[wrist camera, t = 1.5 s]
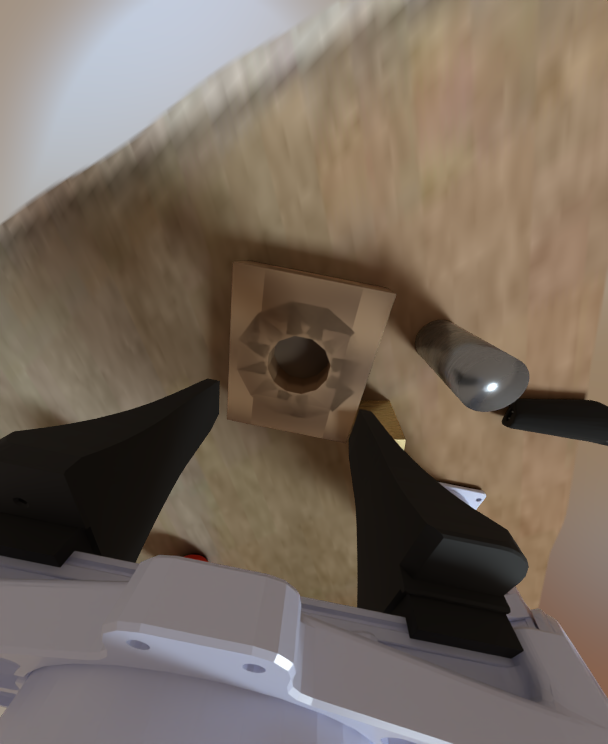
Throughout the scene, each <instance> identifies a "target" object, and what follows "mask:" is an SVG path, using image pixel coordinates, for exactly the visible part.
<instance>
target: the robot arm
mask: <svg viewBox="0 0 608 744" xmlns="http://www.w3.org/2000/svg"><path fill="white" fill-rule="evenodd" d="M219 383H220V381H217V380H212V379H206V380H203V381H201V382H199V383H196V384H194V385H192V386H190V387H188V388H185V389H183V390H181V391H179V392H176V393H174V394H172V395H169V396H167V397H164V398H162V399H159V400H157V401H154V402H152V403H149V404H146V405H143V406H140V407H137V408H134V409H131V410H128V411H124V412H121V413H117V414H113V415H109V416H105V417H101V418H97V419H92V420H87V421H82V422H77V423H71V424H66V425H60V426H53V427H46V428H38V429H31V430H23V431H14V432H12V433H10V434H9V435H7V436H5V437H3V438H2V439H0V706H2V707H6V708H7V709H6V710H5V711H4V713H3V714H2V716H1V717H0V744H608V699H607V697H606V695H605V694H604V692H603V691H602V689H601V687H600V686H599V684H598V683H597V681H596V680H595V678H594V676H593V675H592V673H591V672H590V670H589V668H588V667H587V665H586V664H585V662H584V661H583V659H582V658H581V656H580V655H579V653H578V651H577V650H576V648H575V647H574V645H573V644H572V642H571V641H570V639H569V638H568V636H567V635H566V633H565V632H564V630H563V629H562V627H561V626H560V624H559V623H558V622H557V621H556V620H555V619H554V618H552V617H550V616H549V615H547V614H545V613H544V612H543V611H542V610H541V609H533V610H530V609H529V608H528V606H527V605H526V604H525V602H524V601H523V599H522V597H521V596H520V594H519V592H518V590H517V588H516V587H515V586H516V585H517V584H518V583H520V582H521V581H522V580H523V578H524V577H525V576H526V573H527V570H528V567H529V566H528V562H527V559H526V558H525V556H524V555H523V553H522V552H521V550H520V548H519V547H518V545H517V544H516V542H515V541H514V539H513V538H512V536H511V535H510V533H509V531H508V530H507V529H505V528H504V527H502V526H500V525H499V524H497V523H496V522H494V521H492V520H491V519H489V518H488V517H486V516H484V515H483V514H481V513H480V512H478V511H477V510H476V509H477V508H478V507H479V505H480V504H481V503H482V501H483V500H484V499H485V498H486V494H485V492H484V491H481V490H476V489H471V488H466V487H461V486H456V485H451V484H446V483H441V482H437V481H436V480H435V479H434V478H432V477H431V476H430V475H429V474H428V473H427V472H425V471H424V470H423V469H422V468H421V467H420V466H419V465H418V464H417V463H416V462H415V461H414V460H413V459H412V458H411V457H410V456H409V455H408V454H407V453H406V452H405V451H404V450H403V449H402V448H401V447H400V446H399V444H398V443H397V442H396V441H395V440H394V439H393V438H392V436H391V435H390V434H389V433H388V431H387V430H386V429H385V428H384V426H383V425H382V424H381V423H380V421H379V420H378V419H377V418H376V416H375V415H374V414H373V413H372V412H371V411H367V410H362V409H359V411H358V414H357V417H356V420H355V423H354V426H353V429H352V432H351V435H350V438H349V461H350V469H351V476H352V483H353V490H354V496H355V505H356V522H357V561H358V594H357V608H356V607H351V606H346V605H341V604H336V603H331V602H326V601H321V600H316V599H311V598H306V597H301V596H300V595H299V593H298V591H297V590H296V589H295V588H294V587H293V586H291V585H290V584H289V583H288V582H286V581H285V580H283V579H280V578H277V577H274V576H271V575H269V574H265V573H260V572H255V571H250V570H245V569H240V568H235V567H230V566H225V565H220V564H215V563H210V562H205V561H200V560H195V559H190V558H185V557H180V556H171V555H157V556H155V557H152V558H149V559H147V560H145V561H142V562H141V563H140V564H138V563H135V562H136V560H137V558H138V556H139V554H140V552H141V550H142V547H143V545H144V543H145V541H146V539H147V537H148V535H149V533H150V531H151V529H152V527H153V525H154V523H155V521H156V519H157V517H158V515H159V513H160V511H161V509H162V507H163V505H164V503H165V502H166V500H167V498H168V496H169V494H170V492H171V490H172V489H173V487H174V485H175V483H176V481H177V480H178V478H179V476H180V474H181V473H182V471H183V470H184V468H185V466H186V465H187V463H188V462H189V461H190V459H191V458H192V456H193V455H194V453H195V452H196V451H197V449H198V448H199V446H200V445H201V443H202V442H203V441H204V439H205V438H206V436H207V435H208V433H209V432H210V430H211V428H212V427H213V425H214V423H215V421H216V419H217V417H218V415H219Z"/></svg>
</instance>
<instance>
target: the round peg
mask: <svg viewBox="0 0 608 744" xmlns="http://www.w3.org/2000/svg"><path fill="white" fill-rule="evenodd" d="M415 347H416V350H417V352H418V354H419V355H420V356H421V357H422V358H423V359H424V360H425V361H426V363H427V364H428V365H429V366H430V367H431V368H432V369H433V370H434V371H435V373H436V374H437V375H438V376H439V377H440V378H441V379H442V380H443V381H444V383H445V384H446V385H447V386H448V387H449V388H450V389H451V390H452V392H453V393H454V394H455V395H456V396H457V397H458V398H459V399H460V400H461V402H462V403H463V404H464V405H465V406H467V407H468V408H470V409H472V410H475V411H481V412H489V411H495V410H499V409H502V408H504V407H506V406H508V405H510V404H512V403H513V402H515V401H516V400H517V399H518V398H519V397H520V396H521V395H522V394H523V393H524V391H525V389H526V388H527V385H528V382H529V371H528V369H527V367H526V366H525V364H524V363H523V362H521V361H520V360H518V359H516V358H515V357H513V356H511V355H509V354H507V353H506V352H504V351H502V350H500V349H498V348H497V347H495V346H493V345H491V344H489V343H488V342H486V341H484V340H482V339H481V338H479V337H477V336H475V335H473V334H472V333H470V332H468V331H466V330H464V329H463V328H461V327H459V326H457V325H456V324H454V323H452V322H450V321H447V320H437V321H433V322H431V323H429V324H427V325H426V326H424V327H423V328H422V329H421V330H420V332H419V333H418V335H417V337H416V341H415Z"/></svg>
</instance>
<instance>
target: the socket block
mask: <svg viewBox="0 0 608 744" xmlns="http://www.w3.org/2000/svg"><path fill="white" fill-rule="evenodd" d="M395 297H396V293H394V292H392V291H391V290H389V289H387V288H385V287H380V286H375V285H370V284H365V283H360V282H355V281H350V280H345V279H340V278H334V277H329V276H324V275H319V274H314V273H309V272H304V271H299V270H294V269H289V268H284V267H279V266H274V265H269V264H264V263H258V262H253V261H248V260H246V261H235V262H233V269H232V296H231V324H230V351H229V378H228V405H227V419H228V420H233V421H238V422H243V423H248V424H253V425H258V426H263V427H268V428H273V429H278V430H283V431H288V432H293V433H298V434H303V435H308V436H313V437H318V438H323V439H328V440H333V441H338V442H343V443H346V442H347V439H348V436H349V433H350V430H351V427H352V424H353V421H354V418H355V415H356V413H357V410H358V407H359V404H360V401H361V398H362V395H363V392H364V389H365V386H366V383H367V380H368V377H369V374H370V371H371V368H372V365H373V362H374V359H375V356H376V353H377V350H378V347H379V344H380V342H381V339H382V336H383V333H384V330H385V327H386V324H387V321H388V318H389V315H390V312H391V309H392V306H393V303H394V300H395Z"/></svg>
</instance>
